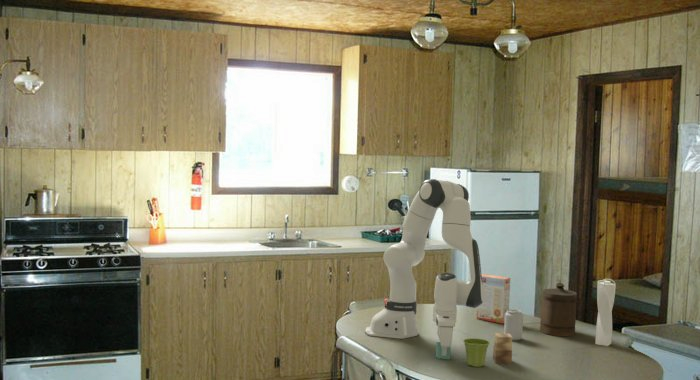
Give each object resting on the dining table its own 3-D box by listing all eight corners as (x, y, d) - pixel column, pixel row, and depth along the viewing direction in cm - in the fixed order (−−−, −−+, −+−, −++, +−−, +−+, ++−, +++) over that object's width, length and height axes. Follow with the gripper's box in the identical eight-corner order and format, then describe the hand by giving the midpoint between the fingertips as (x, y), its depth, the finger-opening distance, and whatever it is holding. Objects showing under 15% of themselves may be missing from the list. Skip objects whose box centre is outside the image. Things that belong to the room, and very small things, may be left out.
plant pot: (459, 360, 274) (460, 337, 274) (484, 361, 275) (485, 338, 275) (465, 368, 265) (467, 344, 264) (491, 368, 266) (492, 345, 265)
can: (522, 341, 306) (523, 313, 305) (503, 340, 307) (505, 311, 306) (521, 337, 313) (523, 309, 312) (503, 335, 314) (505, 308, 314)
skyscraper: (610, 347, 301) (613, 279, 299) (591, 344, 305) (595, 277, 303) (614, 343, 308) (618, 277, 306) (596, 340, 312) (600, 275, 310)
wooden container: (580, 332, 324) (583, 283, 323) (565, 338, 313) (568, 287, 312) (549, 326, 334) (552, 278, 333) (533, 331, 323) (536, 282, 322)
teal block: (436, 358, 276) (437, 345, 276) (435, 354, 281) (436, 342, 281) (450, 359, 276) (450, 346, 276) (448, 355, 281) (449, 342, 281)
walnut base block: (495, 363, 273) (495, 350, 272) (492, 358, 279) (493, 345, 278) (511, 364, 272) (512, 350, 272) (508, 359, 278) (509, 346, 278)
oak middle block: (496, 350, 273) (497, 336, 272) (494, 346, 278) (495, 333, 278) (511, 350, 272) (512, 337, 272) (509, 346, 278) (509, 333, 278)
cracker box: (509, 322, 340) (511, 277, 339) (502, 324, 335) (504, 279, 334) (482, 317, 349) (484, 273, 348) (475, 318, 344) (477, 274, 343)
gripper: (434, 310, 288) (433, 345, 289) (438, 322, 268) (436, 359, 269) (450, 311, 288) (449, 345, 289) (455, 323, 267) (454, 360, 268)
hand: (443, 352), depth 278 cm, fingers closed on teal block, 5 cm apart
